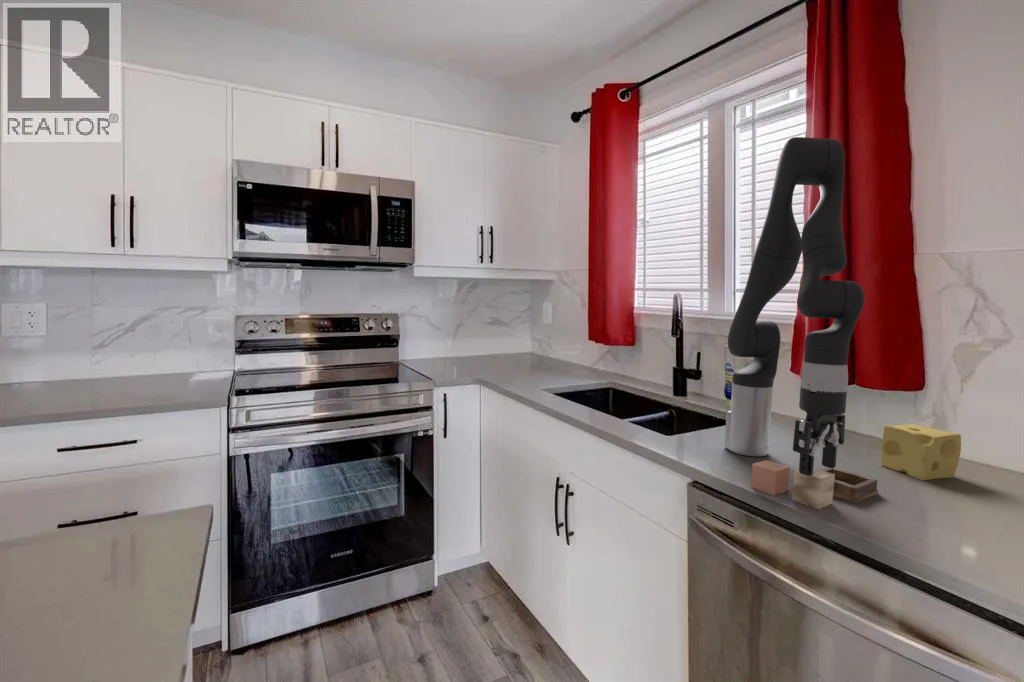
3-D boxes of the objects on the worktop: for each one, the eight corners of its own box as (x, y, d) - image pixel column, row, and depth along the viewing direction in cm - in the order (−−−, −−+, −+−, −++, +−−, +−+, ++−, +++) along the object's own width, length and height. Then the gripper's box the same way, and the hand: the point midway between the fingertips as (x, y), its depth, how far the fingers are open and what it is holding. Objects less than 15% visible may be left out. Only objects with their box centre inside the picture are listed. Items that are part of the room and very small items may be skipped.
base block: (791, 500, 99) (794, 470, 98) (805, 494, 102) (808, 465, 101) (818, 509, 95) (821, 478, 94) (832, 504, 97) (834, 473, 97)
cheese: (923, 481, 111) (928, 436, 110) (876, 465, 121) (880, 423, 120) (958, 478, 113) (963, 434, 112) (909, 462, 124) (913, 421, 123)
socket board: (805, 486, 106) (806, 473, 105) (828, 478, 111) (829, 466, 111) (855, 503, 98) (857, 489, 98) (878, 493, 103) (879, 480, 103)
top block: (750, 487, 105) (752, 463, 105) (764, 482, 108) (766, 459, 107) (774, 495, 101) (775, 471, 100) (787, 490, 104) (789, 467, 103)
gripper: (821, 381, 103) (815, 459, 104) (783, 386, 95) (777, 471, 96) (863, 387, 96) (856, 470, 98) (825, 393, 89) (818, 483, 90)
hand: (817, 470), depth 97 cm, fingers open, 8 cm apart
